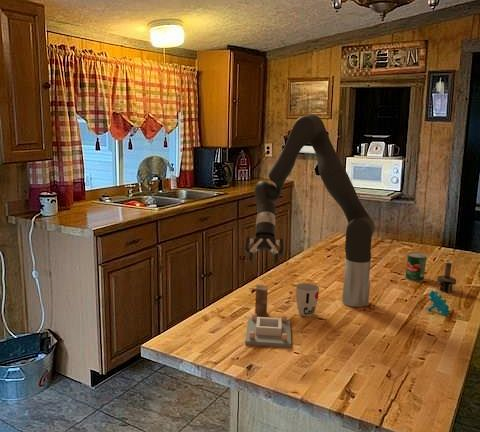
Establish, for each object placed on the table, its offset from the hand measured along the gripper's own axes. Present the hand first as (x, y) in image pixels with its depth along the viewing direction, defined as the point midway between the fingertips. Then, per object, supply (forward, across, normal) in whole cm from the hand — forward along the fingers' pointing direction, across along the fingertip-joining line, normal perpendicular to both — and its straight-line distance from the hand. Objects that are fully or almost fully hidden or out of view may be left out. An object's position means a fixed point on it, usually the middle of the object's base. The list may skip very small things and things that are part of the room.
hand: (263, 263), depth 183 cm
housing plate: (+29, +3, -7) cm, 30 cm away
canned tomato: (-16, +66, +38) cm, 78 cm away
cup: (+16, +16, +6) cm, 24 cm away
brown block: (+18, 0, +3) cm, 19 cm away
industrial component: (-7, +75, +29) cm, 81 cm away
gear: (+10, +65, +12) cm, 67 cm away
